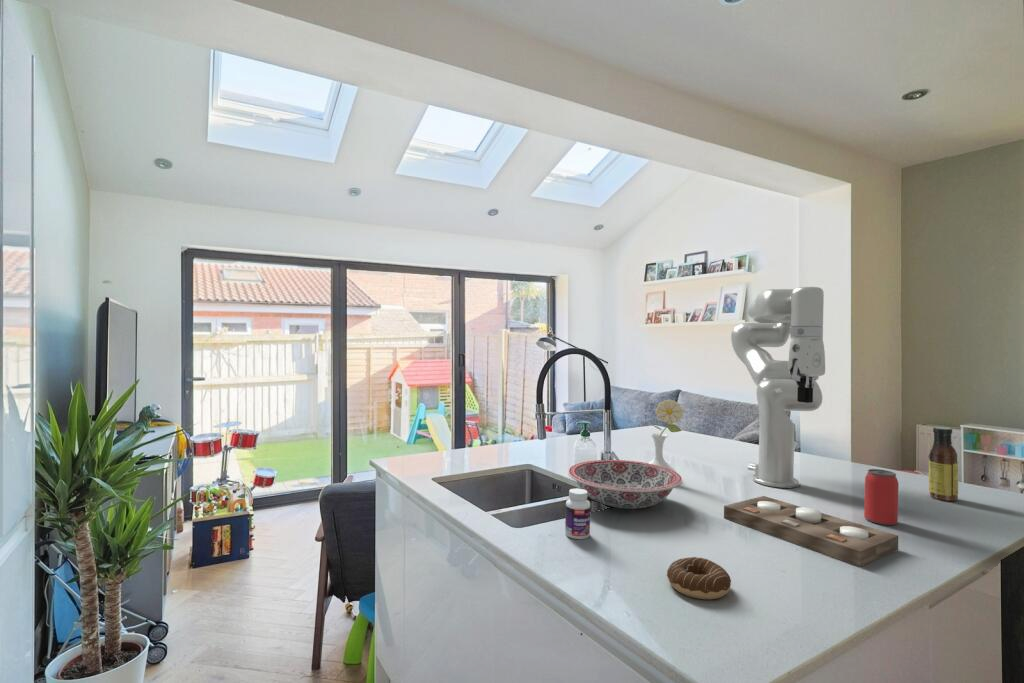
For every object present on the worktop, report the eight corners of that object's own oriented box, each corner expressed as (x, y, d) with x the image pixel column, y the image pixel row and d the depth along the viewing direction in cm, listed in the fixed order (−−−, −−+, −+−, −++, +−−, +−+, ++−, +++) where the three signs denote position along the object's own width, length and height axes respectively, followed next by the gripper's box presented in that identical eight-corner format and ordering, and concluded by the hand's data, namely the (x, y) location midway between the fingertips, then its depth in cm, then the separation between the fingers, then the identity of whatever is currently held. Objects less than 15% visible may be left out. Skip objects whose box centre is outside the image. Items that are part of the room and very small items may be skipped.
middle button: (791, 518, 116) (791, 509, 116) (803, 514, 119) (803, 506, 119) (813, 525, 112) (813, 516, 112) (825, 521, 115) (825, 512, 115)
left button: (752, 511, 124) (753, 503, 124) (765, 507, 127) (765, 499, 127) (772, 517, 120) (772, 509, 120) (784, 513, 123) (784, 505, 123)
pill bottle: (574, 541, 108) (575, 496, 108) (560, 532, 113) (561, 489, 113) (594, 537, 110) (595, 492, 110) (580, 528, 115) (581, 486, 115)
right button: (834, 538, 108) (835, 528, 108) (847, 533, 111) (847, 524, 111) (860, 546, 104) (861, 536, 104) (872, 541, 106) (873, 532, 106)
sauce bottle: (946, 495, 144) (948, 425, 144) (964, 502, 138) (965, 430, 138) (922, 494, 145) (923, 425, 144) (938, 501, 138) (940, 429, 138)
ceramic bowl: (597, 481, 154) (597, 454, 154) (695, 500, 137) (696, 470, 137) (547, 506, 130) (547, 475, 130) (658, 533, 113) (659, 498, 113)
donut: (743, 603, 84) (743, 579, 84) (681, 605, 83) (681, 581, 83) (713, 573, 94) (713, 552, 94) (657, 574, 94) (658, 553, 94)
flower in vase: (633, 480, 155) (635, 398, 155) (646, 472, 165) (648, 395, 164) (676, 487, 148) (678, 402, 147) (687, 479, 157) (689, 398, 157)
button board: (723, 517, 123) (724, 504, 123) (763, 507, 132) (763, 494, 132) (859, 566, 98) (860, 549, 98) (898, 550, 106) (898, 534, 106)
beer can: (893, 519, 124) (894, 470, 124) (901, 528, 118) (902, 477, 118) (861, 514, 127) (862, 467, 127) (867, 523, 121) (868, 473, 121)
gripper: (804, 333, 128) (803, 405, 128) (836, 334, 136) (834, 402, 136) (776, 333, 135) (775, 402, 135) (807, 333, 142) (806, 399, 143)
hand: (804, 402), depth 135 cm, fingers closed
